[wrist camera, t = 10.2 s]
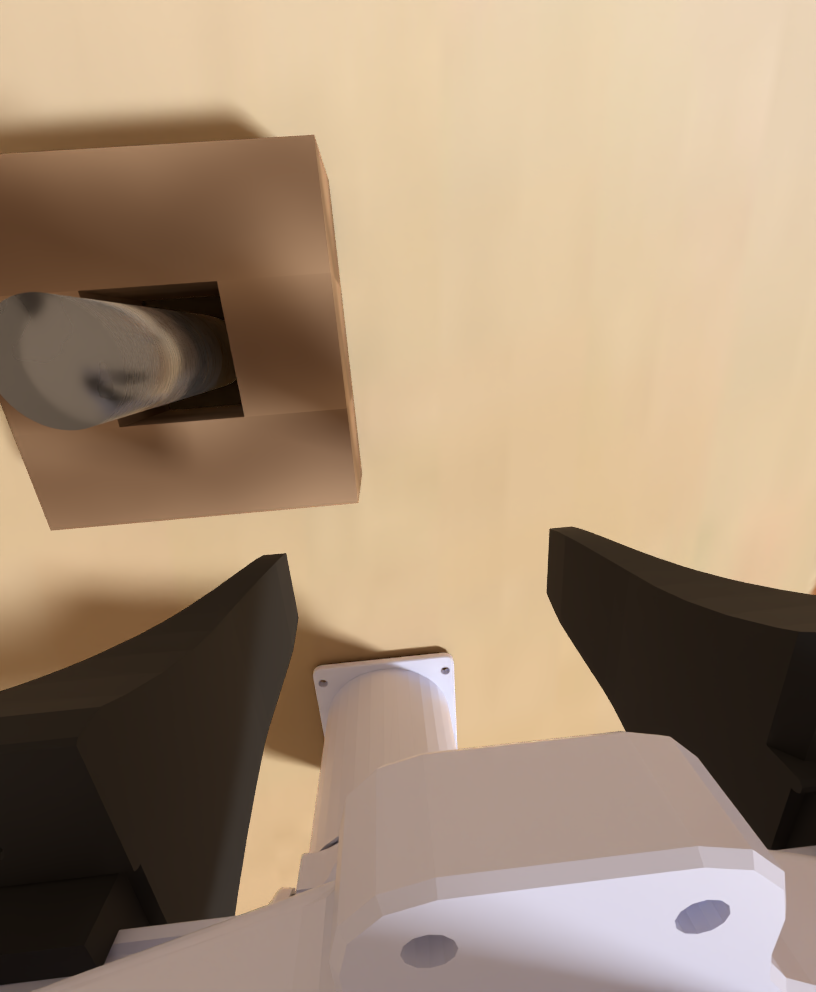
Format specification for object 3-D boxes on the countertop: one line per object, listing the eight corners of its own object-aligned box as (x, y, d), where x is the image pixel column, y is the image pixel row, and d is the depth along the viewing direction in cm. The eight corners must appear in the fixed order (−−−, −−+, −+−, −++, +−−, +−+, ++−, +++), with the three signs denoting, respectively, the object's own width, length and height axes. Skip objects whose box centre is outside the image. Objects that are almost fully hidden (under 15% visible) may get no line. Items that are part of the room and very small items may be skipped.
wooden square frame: (362, 473, 21) (358, 502, 17) (110, 495, 21) (51, 530, 17) (328, 180, 17) (314, 134, 13) (12, 200, 16) (-96, 159, 13)
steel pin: (251, 384, 19) (140, 423, 10) (183, 390, 19) (12, 436, 10) (236, 311, 18) (99, 286, 9) (164, 318, 18) (-44, 298, 9)
